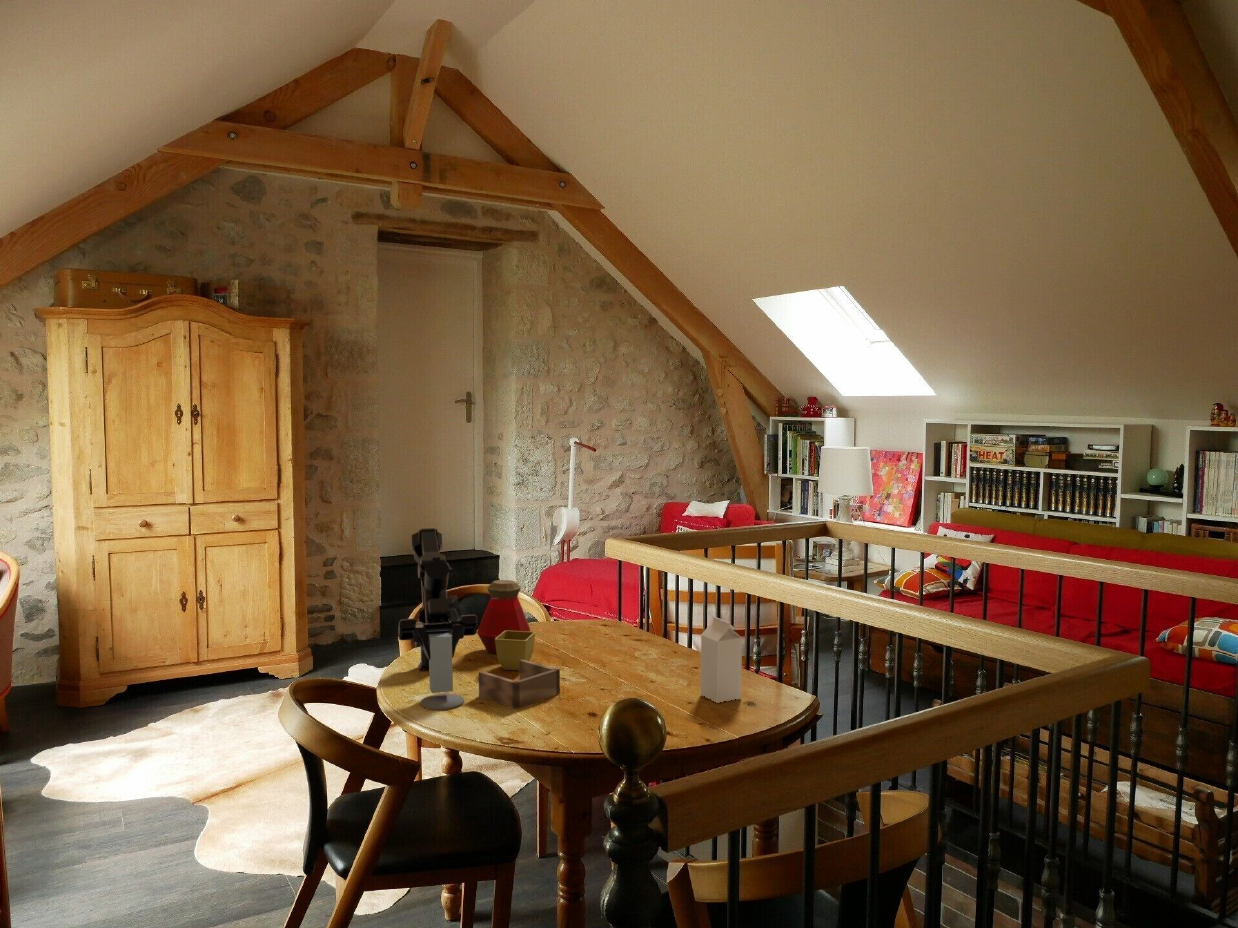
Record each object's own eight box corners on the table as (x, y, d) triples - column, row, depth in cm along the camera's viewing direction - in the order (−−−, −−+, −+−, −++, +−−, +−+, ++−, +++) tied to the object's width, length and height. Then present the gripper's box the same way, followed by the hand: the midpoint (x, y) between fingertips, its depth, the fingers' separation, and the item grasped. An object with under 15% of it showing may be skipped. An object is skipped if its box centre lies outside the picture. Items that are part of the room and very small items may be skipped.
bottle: (469, 655, 253) (468, 585, 251) (486, 643, 266) (486, 576, 264) (522, 659, 249) (522, 587, 248) (537, 646, 262) (537, 578, 261)
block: (429, 688, 217) (428, 634, 218) (450, 686, 219) (449, 632, 219) (431, 692, 213) (430, 637, 213) (453, 691, 214) (451, 636, 214)
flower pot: (526, 673, 236) (526, 640, 236) (494, 671, 238) (494, 638, 237) (535, 664, 245) (535, 631, 244) (505, 662, 246) (504, 630, 246)
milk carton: (716, 703, 213) (717, 624, 212) (700, 695, 219) (701, 618, 218) (741, 699, 216) (742, 621, 215) (724, 690, 222) (725, 615, 221)
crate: (478, 696, 218) (478, 671, 218) (523, 682, 229) (522, 659, 228) (515, 708, 209) (515, 683, 209) (559, 693, 220) (559, 669, 220)
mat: (421, 697, 217) (421, 694, 217) (463, 694, 219) (463, 692, 219) (420, 711, 207) (420, 708, 207) (464, 708, 209) (464, 706, 209)
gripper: (398, 586, 216) (401, 643, 206) (476, 581, 221) (483, 637, 211) (397, 611, 224) (400, 667, 214) (472, 606, 229) (479, 661, 219)
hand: (441, 657), depth 214 cm, fingers closed on block, 5 cm apart
